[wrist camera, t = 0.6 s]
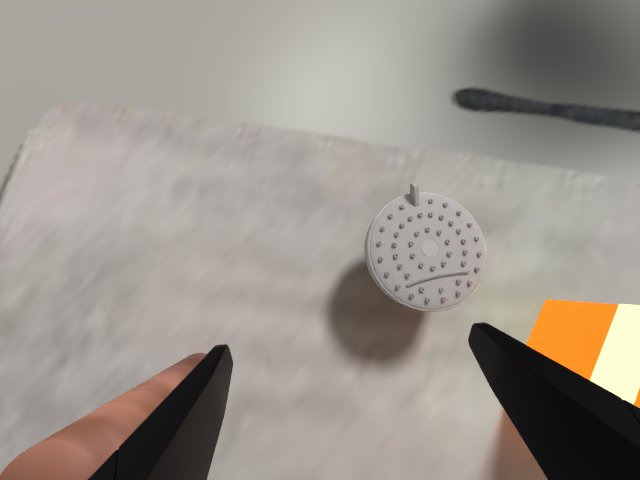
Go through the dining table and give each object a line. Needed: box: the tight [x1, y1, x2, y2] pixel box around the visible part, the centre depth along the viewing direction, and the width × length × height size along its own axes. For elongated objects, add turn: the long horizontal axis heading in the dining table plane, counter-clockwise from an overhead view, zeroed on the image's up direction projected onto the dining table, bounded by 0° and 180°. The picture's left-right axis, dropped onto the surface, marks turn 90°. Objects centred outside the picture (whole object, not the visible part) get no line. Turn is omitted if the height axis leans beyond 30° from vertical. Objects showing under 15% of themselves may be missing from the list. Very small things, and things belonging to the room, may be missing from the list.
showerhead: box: [365, 183, 487, 312], centre depth 21 cm, size 9×7×10 cm
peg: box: [0, 353, 207, 480], centre depth 16 cm, size 4×4×13 cm
